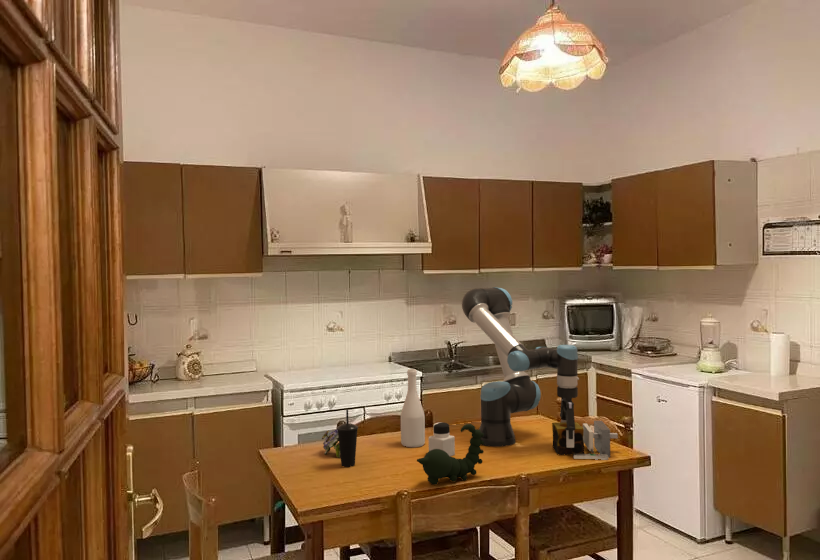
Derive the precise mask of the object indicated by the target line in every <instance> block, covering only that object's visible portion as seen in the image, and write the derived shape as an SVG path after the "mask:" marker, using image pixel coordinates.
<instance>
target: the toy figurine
mask: <svg viewBox="0 0 820 560" xmlns="http://www.w3.org/2000/svg"><path fill="white" fill-rule="evenodd" d="M459 431H460V432H461V433H463V432H464V431H468V432H469V433H471V437H470V439H469V444H470V445H469V446H468V448H467V451H468V452H466V454H465V457H463V458H455V457H454V456H449V455H448V454H447V453H446V452H445V451H443V450H441V449H433V450H430V451H429V450H428V452H426V453H425V455H424V456H423V457H420V458H417V459H416V462H418V463H419V464H420V465H422V471H424V473H425V475H427V482H428V483H429V484H430V485H432V486H435V485H438V484H439V481H440V480H441V479H444V478H445V479H446V478H447V479H448V480H449V481H450V482H452V483H454V482H456V481H457V480H458V479H461V480H462V481H467V480H468V476H467V475H468V474H470V475H471V476H475V475H477V470H476V469H475V466H476V465H477V464H478V465H482V464H483V459H482V458H480V455H483V454H484V449H481V446H484V445H483V444H484V441H483V440H481V437H483V436H484V434H483V433H481V431H480V430H479V428H478V429H476V427H475V425H474V424H471V423H466V424H464V425H463V426H461V428H460V430H459Z"/></svg>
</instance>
